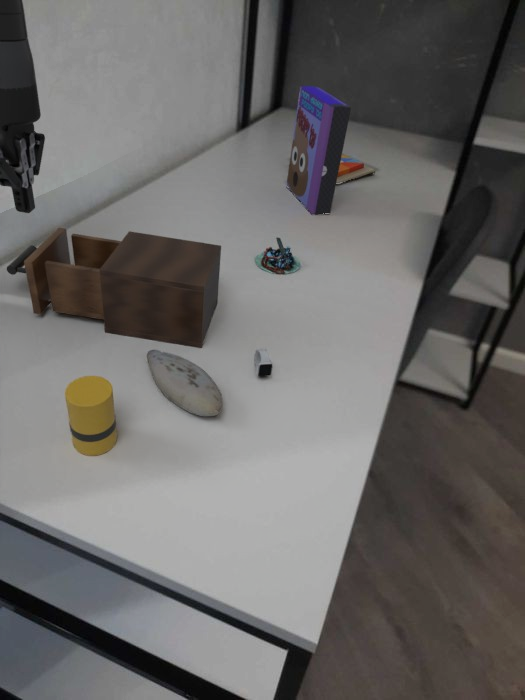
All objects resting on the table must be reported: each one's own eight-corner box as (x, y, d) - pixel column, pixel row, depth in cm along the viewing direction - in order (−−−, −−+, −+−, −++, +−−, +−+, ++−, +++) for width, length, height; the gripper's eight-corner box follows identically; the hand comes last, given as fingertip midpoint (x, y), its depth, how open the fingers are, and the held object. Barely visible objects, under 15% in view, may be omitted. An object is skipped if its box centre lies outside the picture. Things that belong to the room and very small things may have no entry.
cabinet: (105, 332, 78) (99, 269, 72) (132, 289, 89) (129, 231, 82) (201, 348, 78) (204, 286, 71) (217, 303, 88) (221, 245, 82)
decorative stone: (166, 353, 76) (166, 334, 74) (238, 411, 68) (240, 392, 66) (130, 369, 73) (129, 350, 70) (202, 433, 65) (203, 413, 63)
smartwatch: (251, 365, 76) (254, 343, 74) (265, 364, 77) (268, 342, 74) (256, 381, 73) (259, 360, 71) (271, 380, 74) (274, 359, 72)
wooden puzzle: (287, 165, 148) (289, 153, 146) (331, 157, 159) (333, 145, 157) (333, 186, 139) (335, 173, 137) (376, 175, 150) (379, 163, 148)
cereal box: (286, 186, 135) (300, 85, 120) (303, 186, 137) (319, 86, 122) (311, 214, 122) (330, 105, 108) (329, 214, 124) (351, 106, 109)
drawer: (5, 308, 79) (-7, 256, 73) (40, 272, 88) (32, 223, 83) (121, 327, 78) (117, 276, 73) (144, 288, 87) (142, 240, 82)
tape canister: (65, 452, 60) (56, 402, 55) (82, 421, 64) (75, 371, 59) (108, 459, 60) (103, 410, 55) (123, 428, 64) (119, 379, 59)
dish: (310, 258, 99) (281, 233, 97) (288, 288, 99) (258, 263, 97) (296, 257, 107) (268, 234, 104) (275, 285, 107) (247, 262, 104)
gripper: (1, 64, 70) (22, 190, 80) (-59, 83, 59) (-25, 225, 70) (56, 73, 70) (70, 197, 80) (5, 93, 59) (29, 234, 70)
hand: (25, 210), depth 75 cm, fingers closed
